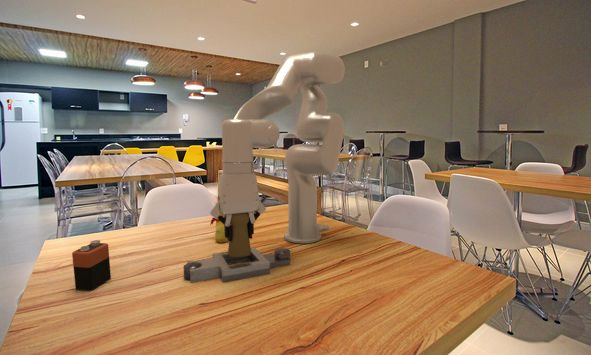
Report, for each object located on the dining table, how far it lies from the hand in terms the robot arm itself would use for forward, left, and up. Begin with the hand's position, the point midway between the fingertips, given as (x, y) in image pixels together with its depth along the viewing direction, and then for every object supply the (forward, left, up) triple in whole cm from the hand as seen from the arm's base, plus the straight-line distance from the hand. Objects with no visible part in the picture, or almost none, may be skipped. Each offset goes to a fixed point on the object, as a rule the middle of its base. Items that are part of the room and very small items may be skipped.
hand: (239, 237), depth 87 cm
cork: (0, 0, -4) cm, 4 cm away
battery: (+34, -6, -9) cm, 35 cm away
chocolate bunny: (-1, -27, -9) cm, 28 cm away
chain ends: (0, 0, -9) cm, 8 cm away
